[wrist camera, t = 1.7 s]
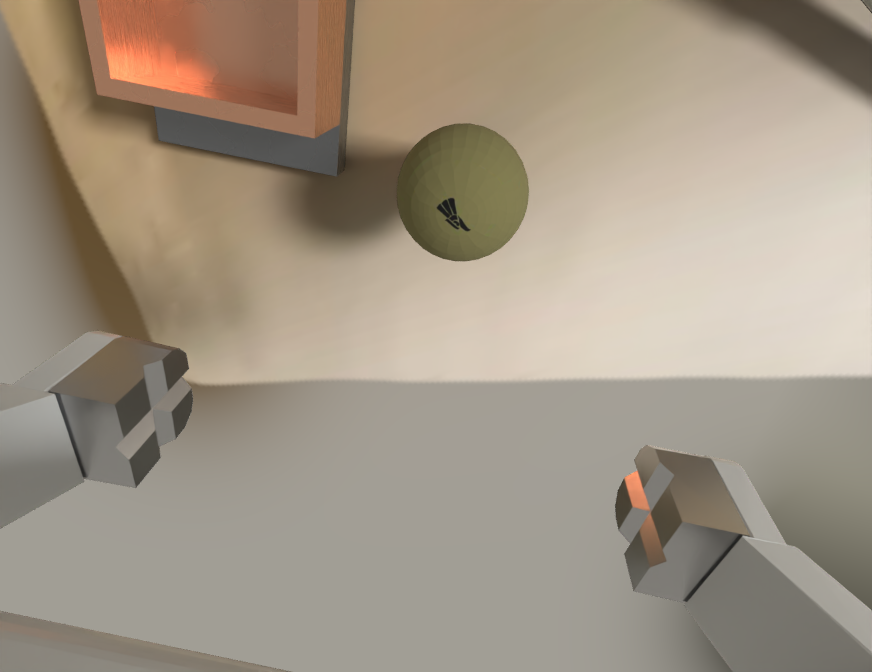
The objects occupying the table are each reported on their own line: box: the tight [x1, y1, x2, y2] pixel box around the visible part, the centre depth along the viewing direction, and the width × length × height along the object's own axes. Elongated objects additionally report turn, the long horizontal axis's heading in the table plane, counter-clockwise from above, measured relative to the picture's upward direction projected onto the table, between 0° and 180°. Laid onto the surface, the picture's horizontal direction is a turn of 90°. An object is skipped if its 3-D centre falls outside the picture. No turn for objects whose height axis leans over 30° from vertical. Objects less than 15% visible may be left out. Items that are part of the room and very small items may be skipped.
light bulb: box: [397, 124, 529, 261], centre depth 22 cm, size 6×6×10 cm
